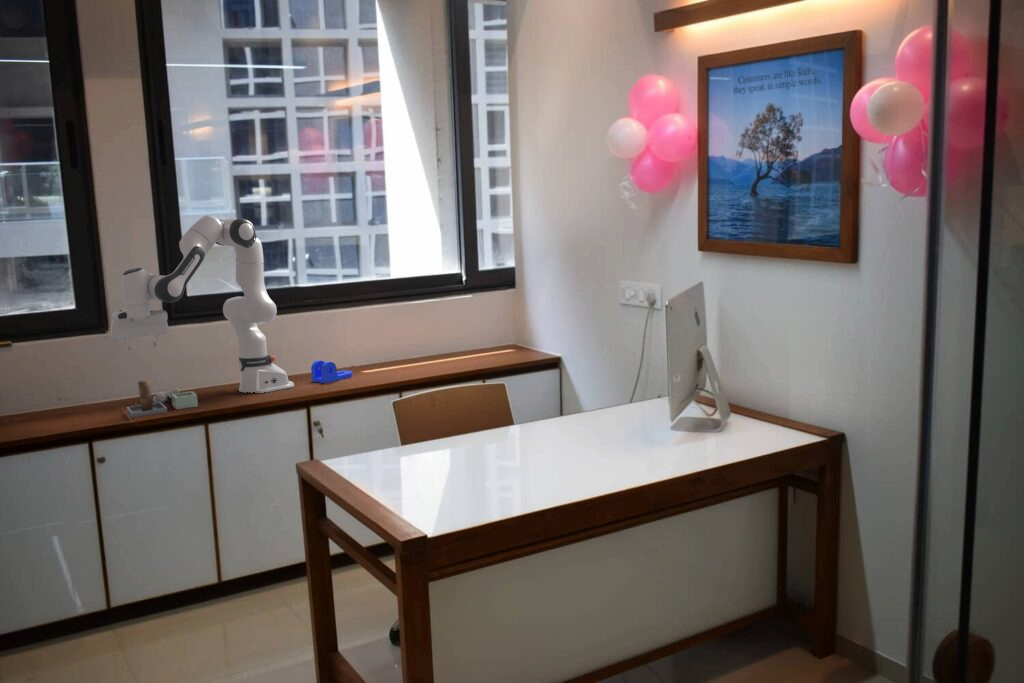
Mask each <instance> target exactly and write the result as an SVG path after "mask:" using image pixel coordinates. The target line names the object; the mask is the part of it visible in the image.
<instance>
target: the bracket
mask: <svg viewBox="0 0 1024 683" xmlns="http://www.w3.org/2000/svg"><path fill="white" fill-rule="evenodd" d="M310 372H311V382H312V383H316V382H319V383H318V384H322V383H327V384H330V383H329V382H331V383H334V382H333V381H335V382H338V381H337V380H339V381H342V380H341V379H343V380H346V379H345V378H347V379H350V378H349V377H351V378H352V377H353V370H338V369H337V366H336V363H334V362H333V361H324V360H314V362H313V363H312V364H311V370H310Z"/></svg>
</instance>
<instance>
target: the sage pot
mask: <svg viewBox="0 0 1024 683" xmlns="http://www.w3.org/2000/svg"><path fill="white" fill-rule="evenodd" d="M171 396H172V404H171V405H172V406H173V408H174V409H175V410H182V409H189V408H196V407H199V402H198V394H196V392H194V391H193V390H192V391H190V390H189V391H185V392H182V393H176V394H171Z"/></svg>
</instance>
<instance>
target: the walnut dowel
mask: <svg viewBox="0 0 1024 683" xmlns="http://www.w3.org/2000/svg"><path fill="white" fill-rule="evenodd" d="M137 383H138V384H137V385H138V391H139V401H140V405H141V410H142V411H148V410H153V407H152V403H153V397H152V393H151V392H152V391H151V384H150V383H151V382H150V380H142V381H138V382H137Z"/></svg>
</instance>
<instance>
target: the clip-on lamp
mask: <svg viewBox="0 0 1024 683" xmlns="http://www.w3.org/2000/svg"><path fill="white" fill-rule="evenodd" d="M176 393H183V392H181V391H180V389H179V388H177V387H173V388H171V389H168V390H165V391H157V392H155V393H154V394H153V397H152V403H158V402H161V403H162V404H164V403H165V402H166V401H167V404H168V405H172V396H171V394H176ZM134 404H135V406H137V405H141V403H134Z"/></svg>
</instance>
